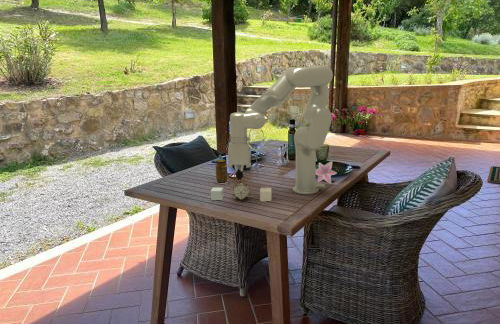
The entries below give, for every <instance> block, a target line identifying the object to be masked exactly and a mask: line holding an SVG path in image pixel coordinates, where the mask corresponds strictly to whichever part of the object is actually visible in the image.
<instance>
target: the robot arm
mask: <svg viewBox="0 0 500 324" xmlns="http://www.w3.org/2000/svg"><path fill="white" fill-rule="evenodd" d="M333 76H334V74H333V70H332V69H331V68H330V67H329V66H327V65H310V66H309V67H308V66H307V67H305V66H304V67H301V66H300V67H299V66H298V67H297V66H292V67H288V68H286V70H284V72H283V73H282V74H281V75H280V76H279V77H278V78H277V80H276V81H275V82H274V83H273V84H272V85H271V87H270V88H269V89H268V90H267V91H265V92H264V93H263V94H261V95H260V96H259V97H258V98H256V100H255V101H253V103H251V105H250V106H249V107H248V108H247V110H245V112H241V111H240V112H238V111H237V112H233V113H230V115H229V128H230V133H229V134H230V142H229V144H228V152H227V168H228V167H229V168H232V169H233V170H234V171H235V177H236V178H237V181H239V180H240V181H241V180H242V178H244V170H245V169H246V168H247V169H248V168H251V166H252V163H251V161H252V160H251V158H252V157H251V156H252V155H251V146H250V142H249V141H251V137H248V129H249V130H250V129H251V130H261V129H262V128H263V127H264V126H265V124H266V117H265V115H264V114H265V113H266V112H267V111H269V110H270V109H272V108H273V107H277V106H279V105H281V104H282V103H284V101H285V100H286V99H287V98H288V97H289V95H290V94H291V93H293V92H294V90H295V89H296V88H310V93H309V98H308V100H307V104H306V106H305V110H304V113H303V120H304V121H305V123H306V124H308V125H309V126H300V127H298V128H297V129H296V130H295V133H294V136H293V141H294V149H295V186H293V187H292V191H293V192H294V193H295V194H299V195H314V194H316V193H318V192H319V189H320V188H321V189H323V188H326V185H325V184H326V183H323V182H318V181H317V180H316V175H315V169H317V168H316V166H317V164H316V159H317V158H316V155H317V154H316V151H318V150H320V149H321V148H322V147H323V146H324V144H325V141H326V140H327V136H328V133H329V130H330V127H331V124H332V116H333V115H332V113H331V111H330V110H329V108H327V107H326V106H327V103H328V99H329V94H330V90H329V89H330V88H329V85H328V84H330V83H331V81H332V80H333ZM239 166H240V168H239Z"/></svg>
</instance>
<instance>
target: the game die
mask: <svg viewBox="0 0 500 324" xmlns="http://www.w3.org/2000/svg"><path fill="white" fill-rule="evenodd" d="M247 185H248V184H247V183H246V184H244V183H243V182H242V181H240V183H238V184H235V186H234V187H232V190H233V193H232V196H235V197H236V198H235V199H239V200H240V202H241V201H242V202H243V200H244V199H245V198H246V199H247V198H248V196H251V194H250V189H251V187H250V186H247Z"/></svg>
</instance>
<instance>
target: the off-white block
mask: <svg viewBox="0 0 500 324" xmlns="http://www.w3.org/2000/svg"><path fill="white" fill-rule="evenodd" d="M272 192H273V191H272V187H260V190H259V201H260V202H266V201H271V202H272V198H273V197H272V194H273V193H272Z"/></svg>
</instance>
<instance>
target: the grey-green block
mask: <svg viewBox="0 0 500 324" xmlns="http://www.w3.org/2000/svg"><path fill="white" fill-rule="evenodd" d="M224 195H225V194H224V187H212V189H211V190H210V200H222V199H223V200H224V198H223V197H225V196H224ZM223 200H222V201H223Z"/></svg>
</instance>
